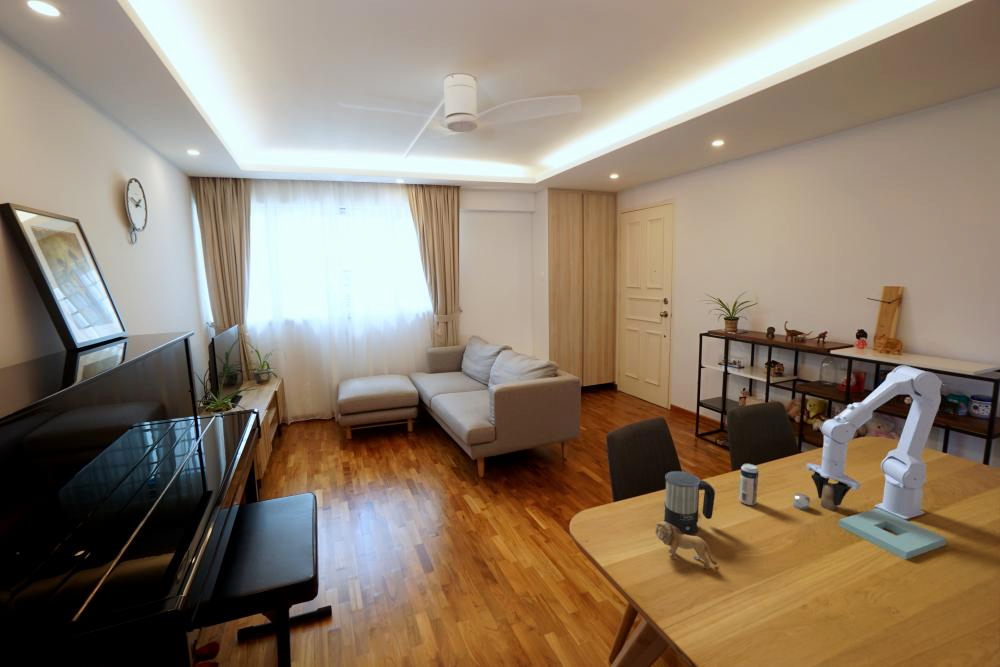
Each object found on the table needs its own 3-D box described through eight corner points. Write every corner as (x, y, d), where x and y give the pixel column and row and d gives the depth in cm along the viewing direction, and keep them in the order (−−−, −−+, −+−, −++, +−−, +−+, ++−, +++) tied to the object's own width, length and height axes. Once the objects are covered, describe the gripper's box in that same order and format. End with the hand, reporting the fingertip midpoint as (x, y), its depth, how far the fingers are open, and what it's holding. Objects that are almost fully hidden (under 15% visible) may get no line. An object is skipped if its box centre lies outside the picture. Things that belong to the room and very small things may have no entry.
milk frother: (678, 539, 121) (681, 488, 119) (641, 510, 136) (642, 464, 134) (718, 528, 126) (721, 479, 124) (677, 501, 141) (680, 457, 139)
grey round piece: (799, 502, 140) (800, 492, 139) (811, 509, 136) (812, 498, 135) (790, 505, 138) (791, 494, 138) (802, 511, 134) (803, 500, 134)
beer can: (758, 507, 137) (761, 470, 135) (741, 505, 138) (744, 469, 136) (752, 499, 142) (755, 463, 140) (736, 497, 143) (739, 462, 141)
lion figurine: (653, 558, 113) (655, 526, 112) (654, 546, 118) (656, 515, 117) (717, 572, 108) (720, 538, 107) (715, 559, 113) (718, 526, 111)
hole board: (876, 514, 133) (877, 508, 132) (945, 544, 118) (946, 538, 117) (838, 525, 127) (839, 519, 126) (905, 559, 112) (906, 552, 112)
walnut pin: (826, 502, 140) (828, 481, 139) (839, 508, 136) (842, 487, 135) (817, 504, 138) (819, 483, 137) (831, 511, 134) (833, 489, 133)
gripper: (801, 452, 140) (797, 492, 142) (850, 471, 127) (845, 515, 129) (816, 448, 143) (812, 488, 144) (866, 467, 129) (861, 510, 131)
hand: (829, 501), depth 137 cm, fingers closed on walnut pin, 4 cm apart
